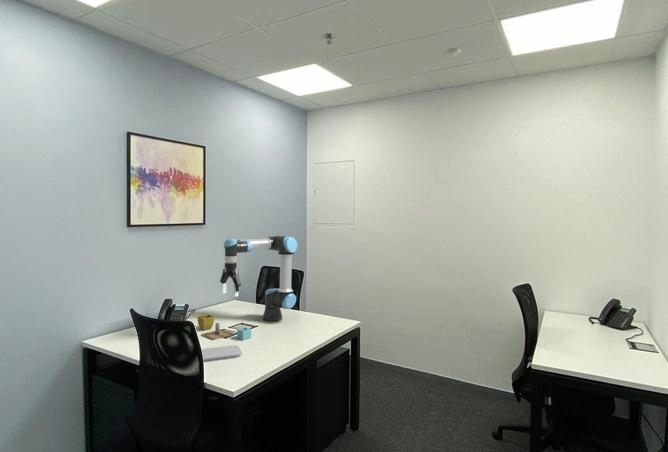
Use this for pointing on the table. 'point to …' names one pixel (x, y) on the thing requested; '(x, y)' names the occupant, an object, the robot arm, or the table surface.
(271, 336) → the table surface
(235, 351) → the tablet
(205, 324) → the flower pot
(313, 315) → the table surface
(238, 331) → the light blue cube
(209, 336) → the post stand
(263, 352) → the table surface
